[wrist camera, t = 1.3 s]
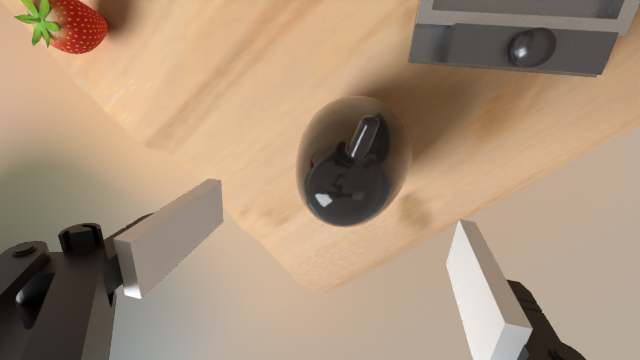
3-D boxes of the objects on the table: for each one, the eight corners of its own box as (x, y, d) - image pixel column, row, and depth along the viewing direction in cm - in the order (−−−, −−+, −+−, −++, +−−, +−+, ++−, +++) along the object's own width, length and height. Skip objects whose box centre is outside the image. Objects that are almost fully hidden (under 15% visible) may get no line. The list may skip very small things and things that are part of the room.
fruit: (130, 25, 33) (56, 15, 25) (113, 63, 35) (40, 64, 27) (91, -11, 32) (3, -32, 25) (76, 30, 34) (-9, 22, 27)
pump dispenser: (429, 112, 29) (463, 158, 15) (384, 199, 34) (379, 296, 20) (332, 73, 30) (283, 85, 16) (301, 164, 34) (240, 234, 20)
